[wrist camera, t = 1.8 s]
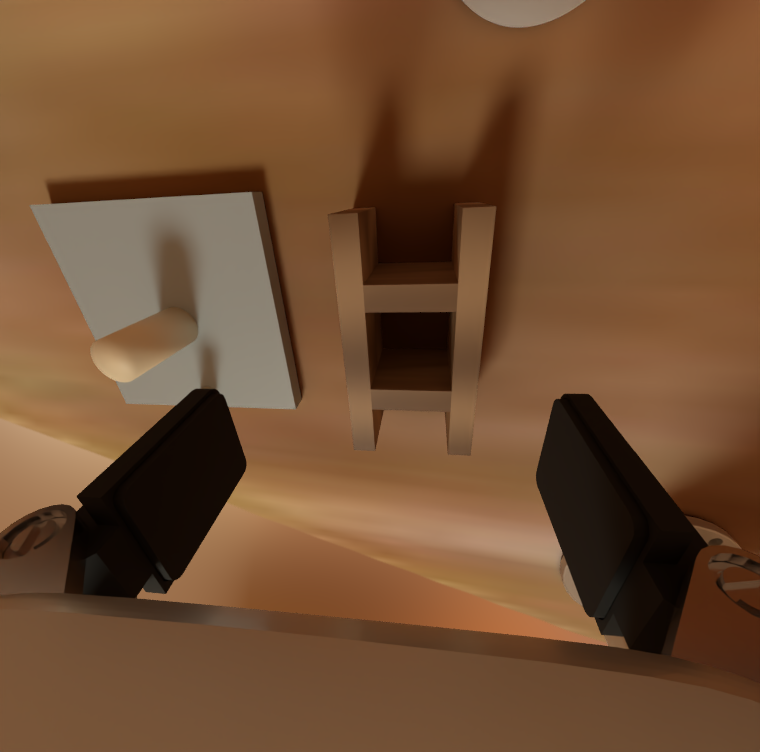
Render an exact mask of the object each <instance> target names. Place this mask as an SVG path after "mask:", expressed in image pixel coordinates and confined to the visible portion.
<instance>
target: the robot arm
mask: <svg viewBox="0 0 760 752" xmlns="http://www.w3.org/2000/svg"><path fill="white" fill-rule="evenodd" d="M245 470H246V459H245V456H244V453H243V450H242V447H241V444H240V441H239V438H238V435H237V432H236V429H235V426H234V423H233V420H232V417H231V414H230V411H229V408H228V405H227V402H226V399H225V397H224V395H223V394H220V393H219V391H218V390H216V389H194V390H192V391H191V392H190V393H189V394H188V395H187V396H186V397H185V398H183V399H182V400H181V401H180V402H179V403H178V404H177V405H176V406H175V407H174V408H173V409H171V410H170V411H169V412H168V413H167V414H166V415H165V416H164V417H163V418H162V419H160V420H159V421H158V422H157V423H156V424H155V425H154V426H153V427H152V428H151V429H150V430H148V431H147V432H146V433H145V434H144V435H143V436H142V437H141V438H140V439H139V440H138V441H136V442H135V443H134V444H133V445H132V446H131V447H130V448H129V449H128V450H127V451H125V452H124V453H123V454H122V455H121V456H120V457H119V458H118V459H117V460H116V461H115V462H113V463H112V464H111V465H110V466H109V467H108V468H107V469H106V470H105V471H104V472H103V473H102V474H100V475H99V476H98V477H97V478H96V479H95V480H94V481H93V482H92V483H90V484H89V485H88V486H87V487H86V488H85V489H84V490H83V491H82V492H81V493H79V494H78V495H77V498H78V499H79V501H80V502H81V503H82V505H83V506H82V507H81V508H80V509H79V510H78V511H77V512H76V511H75V509H74V508H72V507H71V506H69V505H63V504H61V505H53V506H49V507H46V508H42V509H39V510H37V511H35V512H33V513H30V514H28V515H26V516H24V517H23V518H21V519H19V520H18V521H16V522H14V523H13V524H11V525H10V526H9V527H7V528H6V529H5V530H4V531H2V532H1V533H0V752H760V557H759V556H757V555H755V554H752V553H750V552H747V551H744V550H742V549H741V547H740V546H739V545H738V544H737V543H736V541H735V540H734V539H733V538H732V537H731V536H730V535H729V534H728V533H727V532H726V531H725V530H723V529H721V528H720V527H718V526H716V525H715V524H713V523H710V522H707V521H705V520H702V519H699V518H694V517H689V516H685V515H684V514H683V512H682V511H681V510H680V508H679V507H678V506H677V505H676V503H675V502H674V501H673V500H672V498H671V497H670V496H669V494H668V493H667V492H666V491H665V489H664V488H663V487H662V486H661V484H660V483H659V482H658V480H657V479H656V478H655V477H654V475H653V474H652V473H651V472H650V470H649V469H648V468H647V466H646V465H645V464H644V463H643V461H642V460H641V459H640V457H639V456H638V455H637V454H636V452H635V451H634V450H633V449H632V448H631V446H630V445H629V444H628V443H627V441H626V440H625V439H624V437H623V436H622V435H621V434H620V432H619V431H618V430H617V429H616V427H615V426H614V425H613V423H612V422H611V421H610V420H609V418H608V417H607V416H606V414H605V413H604V412H603V411H602V409H601V408H600V407H599V406H598V404H597V403H596V402H595V400H594V399H593V398H592V397H591V396H590V395H589V394H564V395H563V396H562V397H561V399H556V400H555V401H554V403H553V407H552V411H551V415H550V419H549V423H548V427H547V431H546V435H545V439H544V443H543V448H542V452H541V456H540V460H539V464H538V468H537V472H536V481H537V486H538V489H539V491H540V494H541V496H542V499H543V502H544V504H545V507H546V510H547V512H548V515H549V518H550V520H551V523H552V526H553V528H554V531H555V534H556V536H557V539H558V542H559V544H560V547H561V549H562V552H563V557H562V560H561V562H560V574H561V578H562V581H563V584H564V586H565V589H566V591H567V593H568V594H569V595H570V596H571V597H572V599H573V600H575V601H576V602H577V603H578V604H580V605H581V606H583V608H584V610H585V612H586V613H587V615H588V616H589V617H595V620H596V622H597V625H598V627H599V630H600V633H601V635H604V636H605V639H606V641H607V644H608V646H602V645H593V644H586V643H577V642H569V641H561V640H552V639H544V638H536V637H527V636H518V635H508V634H498V633H489V632H478V631H469V630H459V629H449V628H439V627H429V626H420V625H410V624H401V623H390V622H381V621H370V620H360V619H350V618H339V617H328V616H319V615H308V614H298V613H288V612H277V611H267V610H256V609H246V608H235V607H224V606H213V605H202V604H191V603H180V602H169V601H158V600H157V601H156V600H147V599H137V595H138V594H139V592H140V591H141V589H142V588H144V590H145V591H146V592H152V593H162V594H166V593H167V591H168V590H169V588H170V586H171V585H172V583H173V581H174V580H176V579H178V578H179V577H181V575H182V574H183V573H184V571H185V569H186V568H187V566H188V564H189V563H190V561H191V559H192V558H193V556H194V554H195V553H196V551H197V549H198V548H199V546H200V545H201V543H202V541H203V540H204V538H205V536H206V535H207V533H208V531H209V530H210V528H211V526H212V525H213V523H214V522H215V520H216V518H217V516H218V515H219V513H220V512H221V510H222V508H223V507H224V505H225V504H226V502H227V500H228V499H229V497H230V495H231V494H232V492H233V490H234V489H235V487H236V485H237V484H238V482H239V481H240V479H241V477H242V476H243V474H244V472H245Z"/></svg>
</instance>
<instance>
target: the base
mask: <svg viewBox="0 0 760 752" xmlns="http://www.w3.org/2000/svg"><path fill="white" fill-rule="evenodd" d="M30 207H31V209H32V211H33V213H34V215H35V217H36V219H37V221H38V223H39V226H40V228H41V230H42V232H43V234H44V236H45V238H46V240H47V242H48V244H49V246H50V248H51V250H52V252H53V254H54V256H55V258H56V260H57V262H58V264H59V266H60V269H61V271H62V273H63V275H64V277H65V279H66V281H67V283H68V285H69V287H70V289H71V291H72V293H73V295H74V297H75V299H76V301H77V303H78V305H79V307H80V309H81V311H82V314H83V316H84V318H85V320H86V322H87V324H88V326H89V328H90V330H91V332H92V334H93V336H94V338H95V340H96V341H95V342H93V344H92V345H91V349H90V353H91V357H92V360H93V362H94V364H95V365H96V366H97V368H98V369H99V370H100V371H101V372H102V373H103V374H105V375H106V376H107V377H109V378H111V379H113V380H115V381H116V383H117V385H118V387H119V389H120V391H121V393H122V395H123V397H124V399H125V402H126V404H155V405H177V404H178V403H179V402H180V401H181V400H182V399H183V398H185V397H186V396H187V395H188V394H189V393H190V392H191V391H192V390H194V389H216V390H218V391H219V393H220V394H223V395H224V397H225V399H226V402H227V405H228V407H245V408H275V409H296V408H297V406H298V405H299V403H300V402H301V400H302V399H301V393H300V388H299V383H298V378H297V372H296V367H295V362H294V357H293V351H292V346H291V341H290V336H289V331H288V325H287V320H286V315H285V310H284V304H283V299H282V294H281V289H280V283H279V278H278V273H277V268H276V262H275V257H274V252H273V247H272V241H271V236H270V231H269V226H268V220H267V215H266V210H265V205H264V199H263V194H262V192H242V193H226V194H209V195H192V196H176V197H159V198H142V199H126V200H109V201H92V202H76V203H59V204H42V205H30Z"/></svg>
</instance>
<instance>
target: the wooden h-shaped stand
mask: <svg viewBox="0 0 760 752" xmlns="http://www.w3.org/2000/svg"><path fill="white" fill-rule="evenodd" d="M495 215H496V206H493V205H489V204H485V203H481V202H470V203H454V222H453V242H452V261H446V262H410V263H378V246H377V226H376V207H371V208H353V209H348V210H344V211H340V212H336V213H332V214H328V222H329V231H330V240H331V249H332V257H333V266H334V275H335V284H336V293H337V302H338V311H339V320H340V329H341V338H342V347H343V356H344V365H345V374H346V383H347V391H348V400H349V409H350V418H351V427H352V436H353V445H354V450H367V451H375V449H376V444H377V439H378V435H379V430H380V425H381V420H382V415H383V411H384V410H407V411H438V412H445V420H446V434H447V449H448V455H468V456H471V447H472V437H473V427H474V418H475V408H476V398H477V389H478V379H479V369H480V360H481V350H482V340H483V331H484V321H485V311H486V302H487V292H488V282H489V273H490V263H491V253H492V244H493V234H494V224H495ZM381 312H449V322H448V342H447V349H383V346H382V326H381Z"/></svg>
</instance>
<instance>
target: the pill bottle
mask: <svg viewBox="0 0 760 752" xmlns="http://www.w3.org/2000/svg"><path fill="white" fill-rule="evenodd" d="M462 1H463V2H464V3H465V4H466V5H467V6H468V7H469V8H470V9H471V10H472V11H473V12H475V13H476V14H477V15H479V16H480V17H482V18H484V19H486V20H488V21H490V22H492V23H495V24H498V25H501V26H506V27H531V26H536V25H540V24H543V23H546V22H549V21H552V20H554V19H556V18H559V17H561V16H563V15H564V14H566V13H568V12H570V11H571V10H573V9H574V8H576V7H577V6H579V5H580V4H581V3H583V2H584V1H585V0H462Z"/></svg>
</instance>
